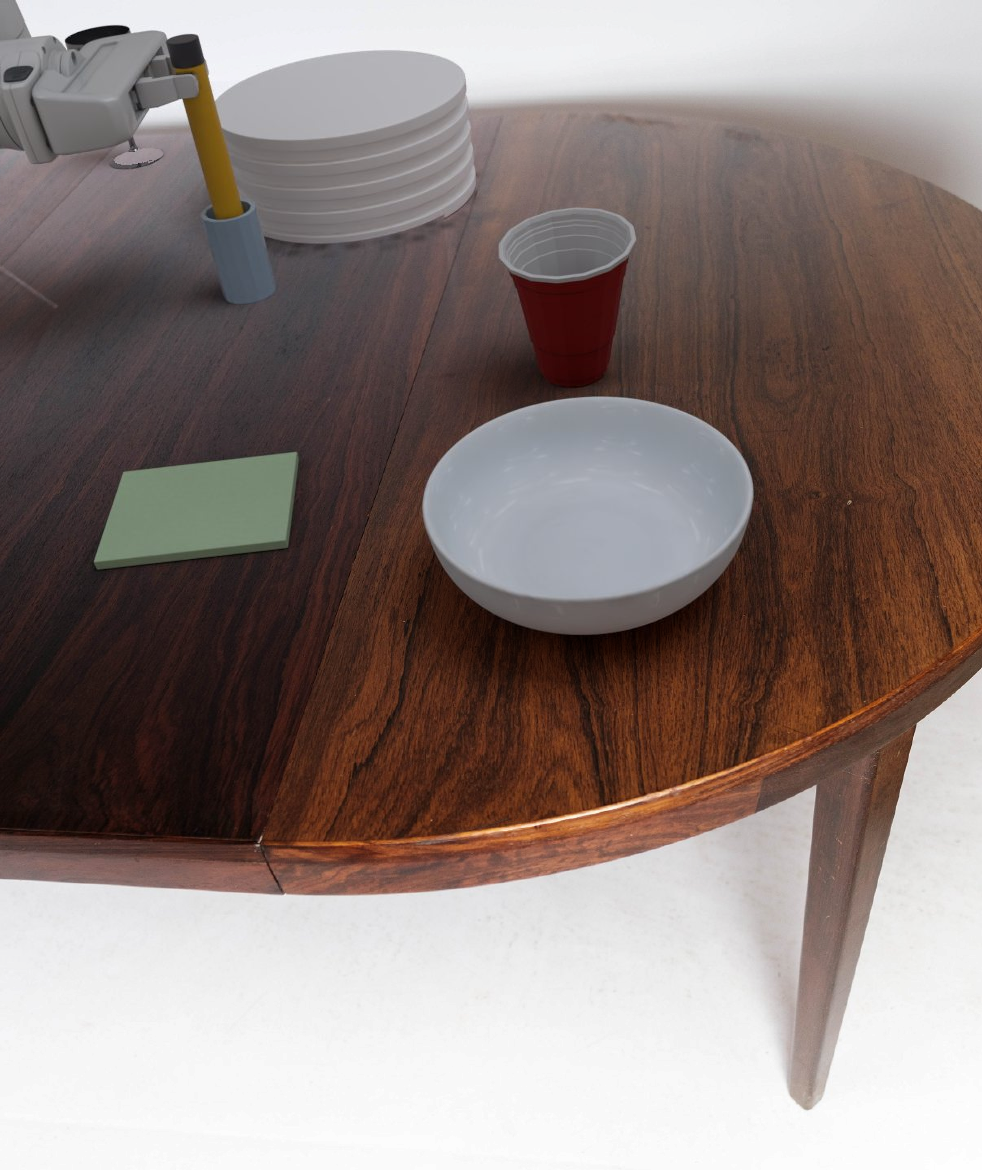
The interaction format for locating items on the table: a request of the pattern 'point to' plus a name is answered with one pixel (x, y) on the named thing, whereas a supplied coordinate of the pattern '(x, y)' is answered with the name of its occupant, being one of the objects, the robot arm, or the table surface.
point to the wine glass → (92, 34)
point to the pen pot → (240, 255)
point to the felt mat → (200, 511)
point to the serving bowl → (588, 513)
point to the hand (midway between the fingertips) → (202, 76)
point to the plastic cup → (570, 287)
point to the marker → (206, 128)
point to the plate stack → (351, 144)
